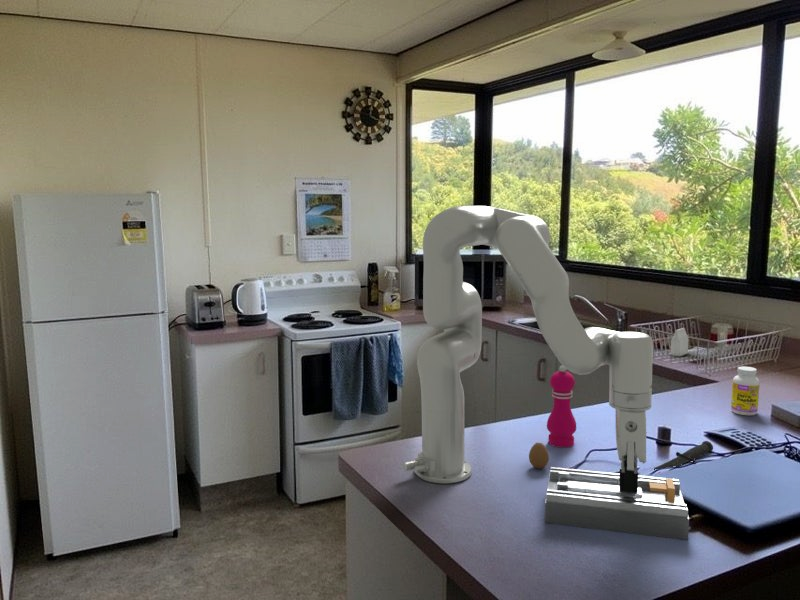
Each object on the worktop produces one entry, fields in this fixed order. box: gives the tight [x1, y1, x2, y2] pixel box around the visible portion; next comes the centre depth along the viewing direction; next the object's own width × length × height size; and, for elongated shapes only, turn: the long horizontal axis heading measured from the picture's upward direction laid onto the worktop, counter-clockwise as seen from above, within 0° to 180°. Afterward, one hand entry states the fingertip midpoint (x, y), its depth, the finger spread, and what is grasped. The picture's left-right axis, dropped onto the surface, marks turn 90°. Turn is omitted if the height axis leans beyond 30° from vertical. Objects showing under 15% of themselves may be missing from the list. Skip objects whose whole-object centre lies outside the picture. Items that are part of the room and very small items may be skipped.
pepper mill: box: [546, 364, 577, 448], centre depth 159 cm, size 7×7×20 cm
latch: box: [649, 477, 675, 503], centre depth 121 cm, size 4×4×3 cm
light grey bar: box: [561, 479, 642, 498], centre depth 124 cm, size 15×3×1 cm, turn 73°
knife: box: [654, 440, 714, 470], centre depth 148 cm, size 24×5×3 cm, turn 119°
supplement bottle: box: [730, 365, 761, 417], centre depth 180 cm, size 7×7×13 cm
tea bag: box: [669, 327, 689, 357], centre depth 250 cm, size 4×7×10 cm, turn 131°
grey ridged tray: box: [544, 466, 690, 541], centre depth 124 cm, size 25×14×6 cm, turn 74°
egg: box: [528, 442, 550, 470], centre depth 146 cm, size 4×4×6 cm
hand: (628, 490), depth 123 cm, fingers closed
